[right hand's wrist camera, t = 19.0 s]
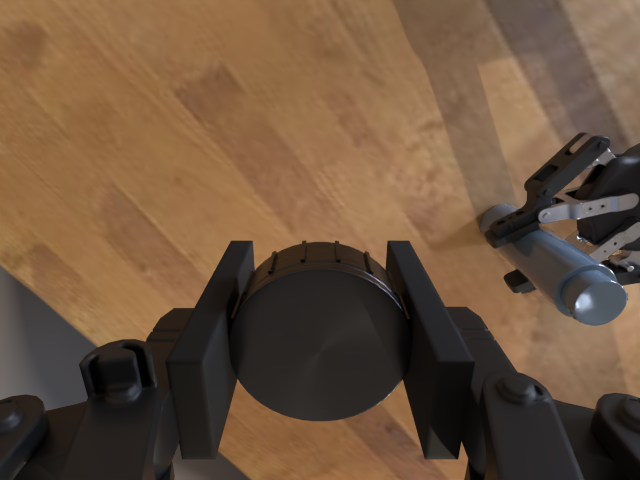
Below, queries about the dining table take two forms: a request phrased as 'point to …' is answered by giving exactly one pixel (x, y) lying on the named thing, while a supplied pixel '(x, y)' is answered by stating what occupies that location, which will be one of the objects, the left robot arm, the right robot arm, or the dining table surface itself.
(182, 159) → the dining table surface
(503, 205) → the bottle
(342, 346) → the lid
